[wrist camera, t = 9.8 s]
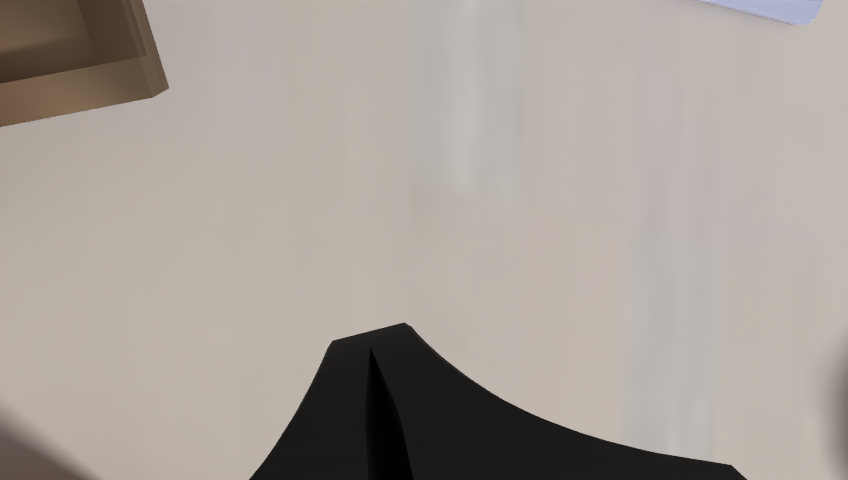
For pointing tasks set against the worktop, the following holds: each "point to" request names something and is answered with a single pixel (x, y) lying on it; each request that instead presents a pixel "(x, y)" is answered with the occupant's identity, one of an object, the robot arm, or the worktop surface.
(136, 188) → the worktop surface
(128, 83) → the beam
